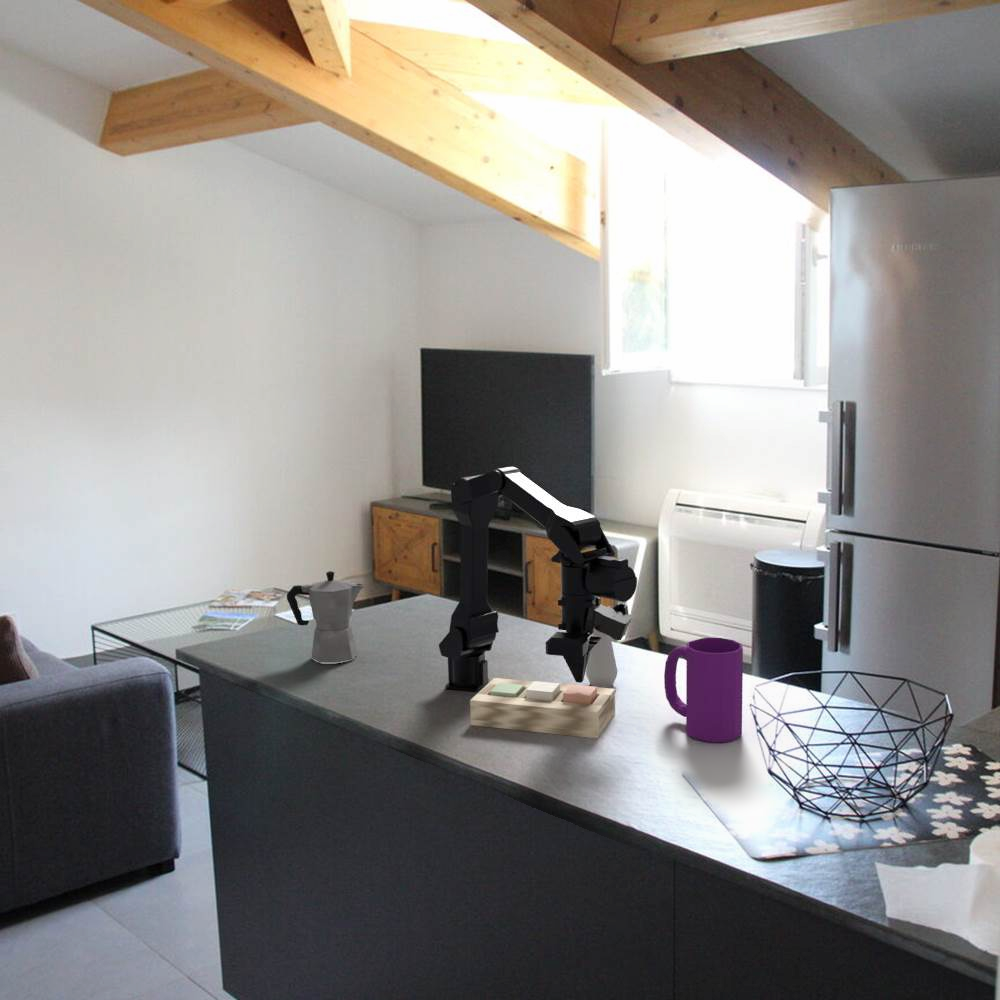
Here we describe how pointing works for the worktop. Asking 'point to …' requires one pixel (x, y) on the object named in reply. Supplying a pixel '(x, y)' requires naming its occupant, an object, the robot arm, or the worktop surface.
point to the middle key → (543, 691)
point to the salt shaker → (602, 662)
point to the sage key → (507, 690)
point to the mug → (709, 688)
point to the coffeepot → (329, 617)
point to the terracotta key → (580, 694)
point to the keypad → (542, 711)
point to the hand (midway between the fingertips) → (579, 681)
